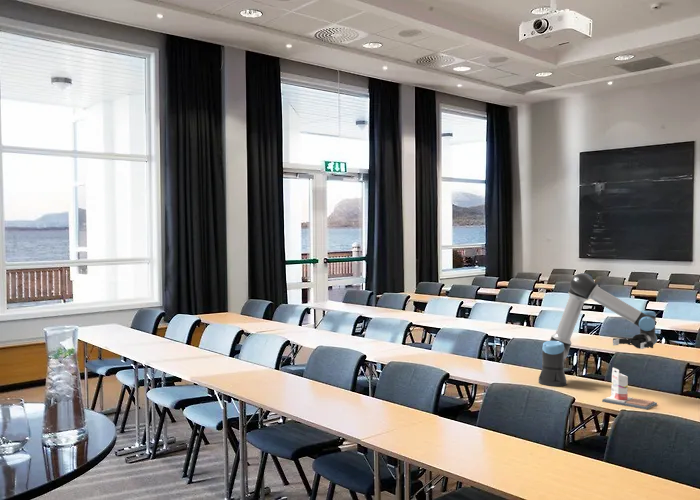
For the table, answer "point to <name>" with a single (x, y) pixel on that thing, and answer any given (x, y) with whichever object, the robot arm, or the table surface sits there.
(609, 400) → the tile board
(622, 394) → the ink cartridge box
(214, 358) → the table surface
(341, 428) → the table surface
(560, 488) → the table surface
